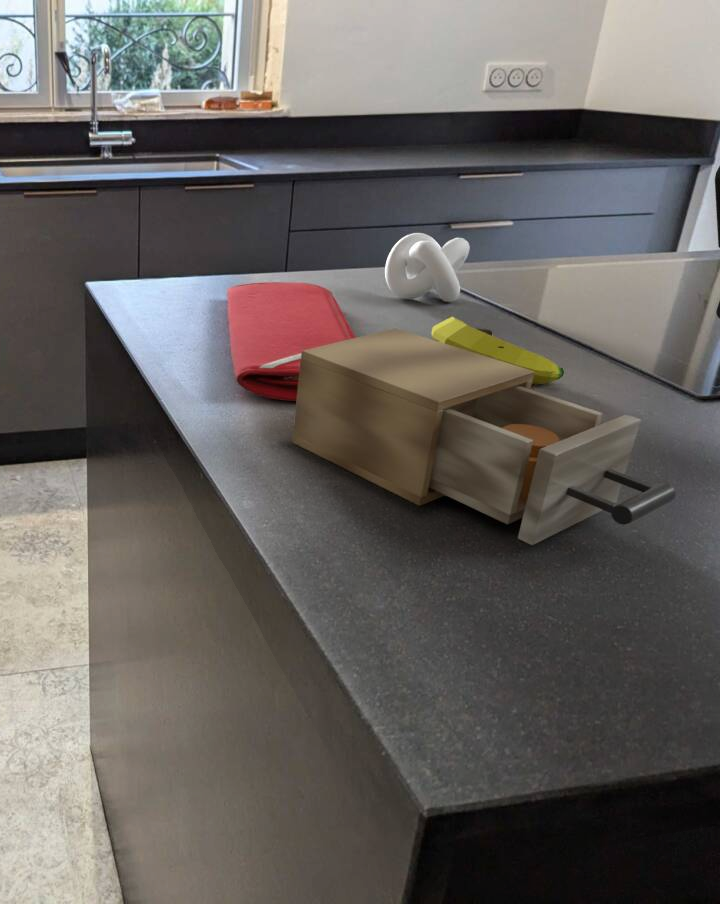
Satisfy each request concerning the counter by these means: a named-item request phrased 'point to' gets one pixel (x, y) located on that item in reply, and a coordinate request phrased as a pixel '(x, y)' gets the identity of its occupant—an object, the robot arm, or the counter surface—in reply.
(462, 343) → the banana
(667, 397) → the counter surface
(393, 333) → the cabinet
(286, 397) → the dish drying mat
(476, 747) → the counter surface
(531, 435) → the orange lidded jar
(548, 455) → the drawer
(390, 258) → the white knot sculpture
